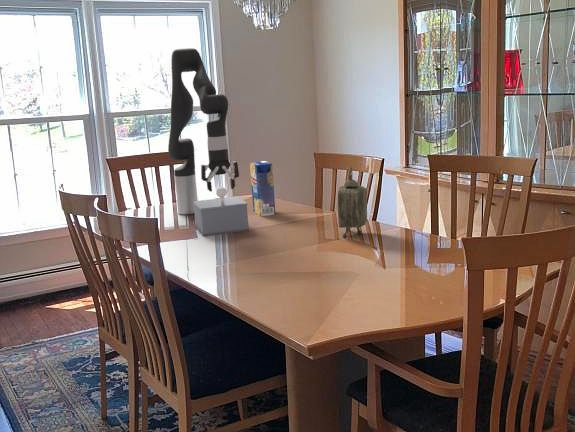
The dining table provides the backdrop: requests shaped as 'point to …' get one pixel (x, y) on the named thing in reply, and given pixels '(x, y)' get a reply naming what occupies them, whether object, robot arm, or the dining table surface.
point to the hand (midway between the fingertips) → (221, 190)
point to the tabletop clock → (352, 205)
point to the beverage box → (262, 188)
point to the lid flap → (219, 201)
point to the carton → (221, 220)
